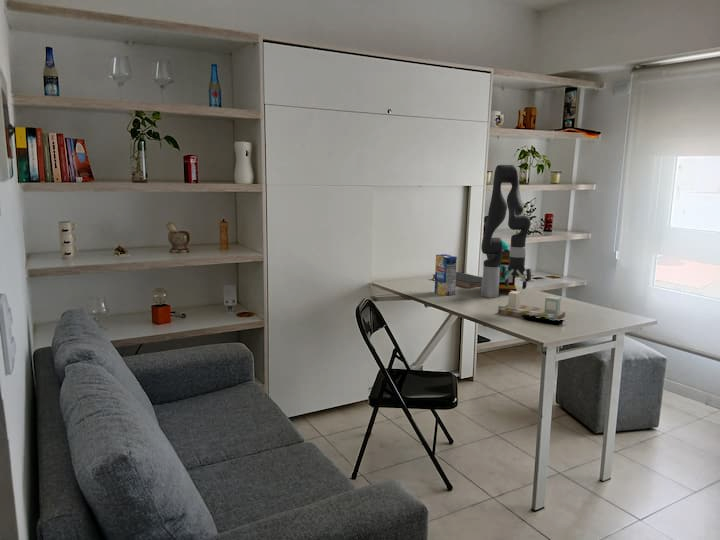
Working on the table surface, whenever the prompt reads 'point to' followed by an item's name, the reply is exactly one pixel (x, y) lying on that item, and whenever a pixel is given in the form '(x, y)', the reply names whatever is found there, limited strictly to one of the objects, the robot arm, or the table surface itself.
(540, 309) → the walnut shelf
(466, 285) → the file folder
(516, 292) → the cream carton
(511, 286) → the decorative lantern
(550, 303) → the green carton
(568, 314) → the table surface
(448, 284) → the beverage box
